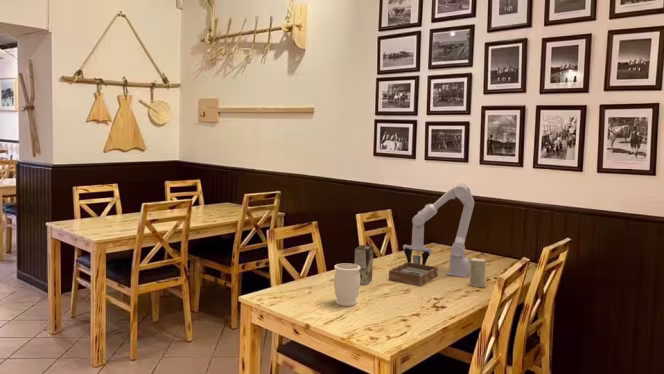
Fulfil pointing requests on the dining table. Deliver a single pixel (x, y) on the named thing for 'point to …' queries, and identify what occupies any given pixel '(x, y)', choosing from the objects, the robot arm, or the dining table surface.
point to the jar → (346, 283)
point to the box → (413, 273)
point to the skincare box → (477, 272)
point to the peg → (416, 259)
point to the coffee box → (364, 263)
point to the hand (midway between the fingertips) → (416, 265)
